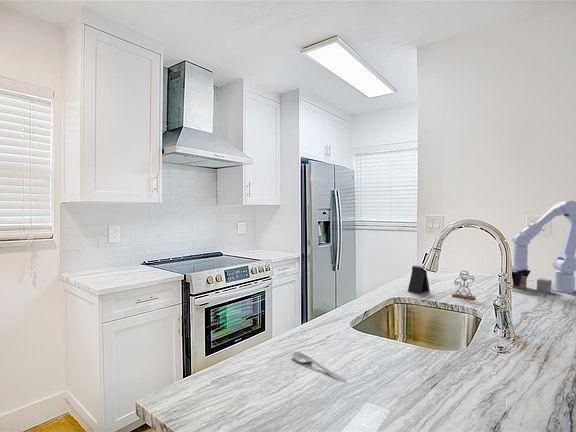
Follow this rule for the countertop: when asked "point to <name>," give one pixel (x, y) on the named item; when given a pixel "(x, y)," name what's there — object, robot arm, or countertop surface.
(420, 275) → the phone stand
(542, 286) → the grey block
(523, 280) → the walnut block
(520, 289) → the blue card
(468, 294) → the grey figurine
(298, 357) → the spoon
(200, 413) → the countertop surface
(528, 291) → the rubber mat
